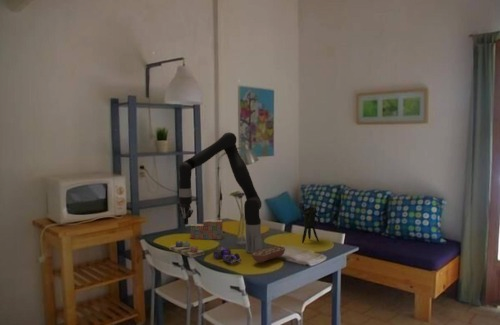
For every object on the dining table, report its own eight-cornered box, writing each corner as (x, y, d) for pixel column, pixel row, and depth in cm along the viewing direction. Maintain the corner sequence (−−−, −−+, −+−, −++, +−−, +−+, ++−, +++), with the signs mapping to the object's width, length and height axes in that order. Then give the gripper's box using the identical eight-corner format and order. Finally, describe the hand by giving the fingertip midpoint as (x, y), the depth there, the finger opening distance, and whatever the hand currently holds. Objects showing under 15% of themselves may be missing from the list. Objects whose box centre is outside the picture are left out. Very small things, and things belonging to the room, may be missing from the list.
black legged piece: (310, 238, 273) (310, 201, 271) (325, 240, 265) (325, 203, 264) (293, 243, 259) (293, 205, 257) (308, 247, 251) (308, 207, 250)
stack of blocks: (190, 239, 275) (189, 221, 274) (192, 236, 281) (191, 219, 280) (221, 239, 273) (221, 221, 272) (222, 237, 279) (222, 219, 278)
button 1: (199, 251, 237) (199, 246, 237) (193, 252, 234) (193, 248, 234) (195, 249, 240) (194, 245, 240) (188, 251, 237) (188, 246, 237)
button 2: (191, 246, 243) (191, 242, 243) (185, 247, 240) (185, 243, 240) (187, 245, 246) (187, 240, 246) (181, 246, 243) (181, 242, 243)
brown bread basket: (260, 265, 217) (260, 256, 216) (247, 261, 224) (247, 253, 223) (288, 256, 232) (288, 248, 232) (275, 253, 240) (275, 245, 239)
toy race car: (230, 264, 219) (230, 252, 219) (213, 258, 230) (213, 247, 230) (243, 260, 226) (243, 249, 226) (225, 255, 237) (225, 244, 236)
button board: (204, 254, 237) (204, 251, 237) (191, 257, 231) (191, 254, 231) (182, 246, 255) (181, 243, 255) (169, 249, 249) (169, 246, 249)
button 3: (184, 245, 249) (184, 241, 249) (178, 247, 246) (178, 243, 246) (180, 244, 252) (180, 240, 252) (174, 245, 249) (174, 241, 249)
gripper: (197, 196, 238) (197, 225, 240) (184, 194, 248) (185, 221, 249) (186, 197, 233) (186, 227, 235) (174, 195, 243) (174, 223, 244)
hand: (185, 224), depth 242 cm, fingers closed
